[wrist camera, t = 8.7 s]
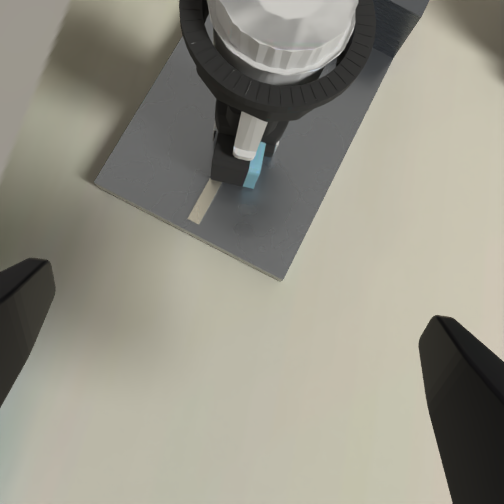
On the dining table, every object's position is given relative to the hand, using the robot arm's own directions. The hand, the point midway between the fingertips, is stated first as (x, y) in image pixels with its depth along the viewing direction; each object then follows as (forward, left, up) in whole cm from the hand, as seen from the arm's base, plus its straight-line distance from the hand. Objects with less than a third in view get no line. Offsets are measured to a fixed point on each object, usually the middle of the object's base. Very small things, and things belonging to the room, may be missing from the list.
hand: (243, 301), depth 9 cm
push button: (+8, +3, -9) cm, 13 cm away
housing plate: (+9, +3, -10) cm, 14 cm away
